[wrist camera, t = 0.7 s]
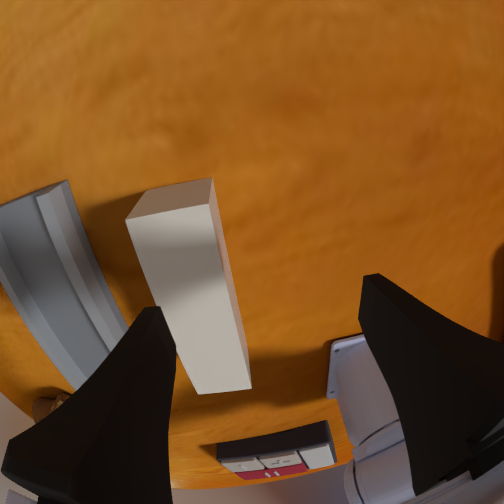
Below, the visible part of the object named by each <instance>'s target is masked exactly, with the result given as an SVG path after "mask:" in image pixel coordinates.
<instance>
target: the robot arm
mask: <svg viewBox="0 0 504 504" xmlns="http://www.w3.org/2000/svg"><path fill="white" fill-rule="evenodd" d="M358 320H359V323H360V325H361V328H362V331H363V334H362V335H358V336H354V337H350V338H346V339H341V340H337V341H334V342H333V343H332V344H331V352H330V364H329V374H328V384H327V393H326V396H327V399H333V398H337V401H338V405H339V408H340V411H341V414H342V417H343V421H344V424H345V427H346V431H347V434H348V437H349V440H350V442H351V443H352V445H353V446H354V447H355V448H354V449H352V453H353V457H354V459H351V460H350V461H349V462H348V464H347V467H346V470H345V473H344V486H345V491H346V495H347V498H348V500H349V503H350V504H504V344H502V343H500V342H497V341H494V340H492V339H489V338H487V337H484V336H482V335H480V334H477V333H475V332H473V331H471V330H469V329H467V328H465V327H463V326H461V325H459V324H457V323H455V322H453V321H452V320H450V319H448V318H446V317H445V316H443V315H441V314H440V313H438V312H436V311H435V310H433V309H432V308H430V307H428V306H427V305H425V304H424V303H422V302H421V301H419V300H418V299H416V298H415V297H413V296H412V295H411V294H409V293H408V292H406V291H405V290H403V289H402V288H400V287H399V286H397V285H396V284H395V283H393V282H392V281H390V280H389V279H387V278H386V277H384V276H382V275H381V274H379V273H377V274H371V275H366V276H363V285H362V293H361V301H360V308H359V315H358ZM175 373H176V344H175V341H174V339H173V337H172V334H171V332H170V329H169V327H168V324H167V322H166V319H165V317H164V314H163V312H162V309H161V307H160V306H155V307H146V308H144V309H143V310H142V311H141V313H140V314H139V315H138V317H137V318H136V319H135V321H134V322H133V323H132V325H131V326H130V327H129V329H128V330H127V331H126V333H125V334H124V335H123V337H122V338H121V339H120V341H119V342H118V343H117V345H116V346H115V347H114V349H113V350H112V351H111V352H110V353H109V355H108V356H107V357H106V358H105V360H104V361H103V362H102V363H101V364H100V366H99V367H98V368H97V369H96V370H95V372H94V373H93V374H92V375H91V376H90V377H89V378H88V379H87V380H86V381H85V382H84V383H83V384H82V386H81V387H80V388H79V389H78V390H77V391H76V392H74V393H73V394H72V395H71V396H70V397H69V398H68V399H67V400H66V401H64V402H63V403H62V404H61V405H60V406H59V407H58V408H56V409H55V410H54V411H53V412H51V413H50V414H49V415H48V416H46V417H45V418H44V419H42V420H41V421H39V422H38V423H37V424H35V425H34V426H32V427H31V428H29V429H28V430H26V431H24V432H22V433H21V434H19V435H17V436H16V437H14V438H12V439H10V440H9V443H8V446H7V449H6V453H5V457H4V460H3V464H2V468H1V472H2V474H3V475H4V476H6V477H7V478H8V479H10V480H12V481H13V482H15V483H16V484H18V485H20V486H22V487H23V488H25V489H27V490H28V491H31V492H32V493H34V494H36V495H38V496H39V497H38V502H36V501H34V500H32V499H30V498H28V497H26V496H23V495H21V494H19V493H17V492H15V491H13V490H11V489H9V490H8V494H7V498H6V504H173V501H172V493H171V484H170V472H169V453H168V429H169V418H170V410H171V402H172V395H173V388H174V380H175Z"/></svg>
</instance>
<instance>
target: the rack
mask: <svg viewBox="0 0 504 504" xmlns="http://www.w3.org/2000/svg"><path fill="white" fill-rule="evenodd" d="M0 282H1V284H2V286H3V287H4V289H5V291H6V293H7V295H8V296H9V298H10V300H11V302H12V303H13V305H14V307H15V308H16V310H17V312H18V313H19V315H20V316H21V318H22V320H23V321H24V323H25V324H26V326H27V327H28V329H29V330H30V332H31V333H32V335H33V336H34V338H35V339H36V340H37V342H38V343H39V345H40V346H41V348H42V349H43V350H44V352H45V353H46V354H47V356H48V357H49V358H50V360H51V361H52V362H53V364H54V365H55V366H56V367H57V369H58V370H59V371H60V372H61V374H62V375H63V376H64V377H65V378H66V380H67V381H68V382H69V383H70V384H71V386H72V387H73V388H74V389H75V390H76V391H77V390H78V389H79V388H80V387H81V386H82V384H83V383H84V382H85V381H86V380H87V379H88V378H89V377H90V376H91V375H92V374H93V373H94V372H95V370H96V369H97V368H98V367H99V366H100V364H101V363H102V362H103V361H104V360H105V358H106V357H107V356H108V355H109V353H110V352H111V351H112V350H113V349H114V347H115V346H116V345H117V343H118V342H119V341H120V339H121V338H122V337H123V335H124V334H125V333H126V331H127V330H128V329H129V328H128V326H127V324H126V322H125V320H124V318H123V316H122V314H121V312H120V310H119V308H118V306H117V304H116V302H115V300H114V298H113V296H112V294H111V291H110V289H109V287H108V285H107V283H106V281H105V278H104V276H103V274H102V272H101V269H100V267H99V265H98V262H97V260H96V258H95V255H94V253H93V250H92V248H91V245H90V243H89V240H88V238H87V235H86V232H85V230H84V227H83V224H82V222H81V219H80V216H79V213H78V210H77V207H76V204H75V201H74V198H73V195H72V192H71V189H70V186H69V183H68V179H67V180H64V181H62V182H59V183H56V184H53V185H50V186H47V187H45V188H42V189H39V190H37V191H34V192H31V193H29V194H26V195H24V196H21V197H19V198H16V199H14V200H12V201H9V202H7V203H5V204H2V205H0Z"/></svg>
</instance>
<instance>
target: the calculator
mask: <svg viewBox="0 0 504 504" xmlns="http://www.w3.org/2000/svg"><path fill="white" fill-rule="evenodd" d="M217 460H218V461H219V462H220V463H221V464H222V465H223V466H224V467H226V468H227V469H229V470H230V471H232V472H235V474H236V475H238V476H240V477H241V478H243V479H244V480H250V479H260V478H268V477H276V476H283V475H289V474H295V473H301V472H306V471H307V469H309V468H310V469H316V468H320V467H325V466H329V465H333V464H334V463H336V462H337V458H336V453H335V448H334V443H333V439H332V436H331V432H330V428H329V424H328V421H327V420H324V421H320V422H317V423H313V424H309V425H306V426H302V427H298V428H294V429H293V430H291V431H286V432H281V433H275V434H269V435H264V436H259V437H253V438H248V439H242V440H236V441H229V442H223V443H217Z"/></svg>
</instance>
